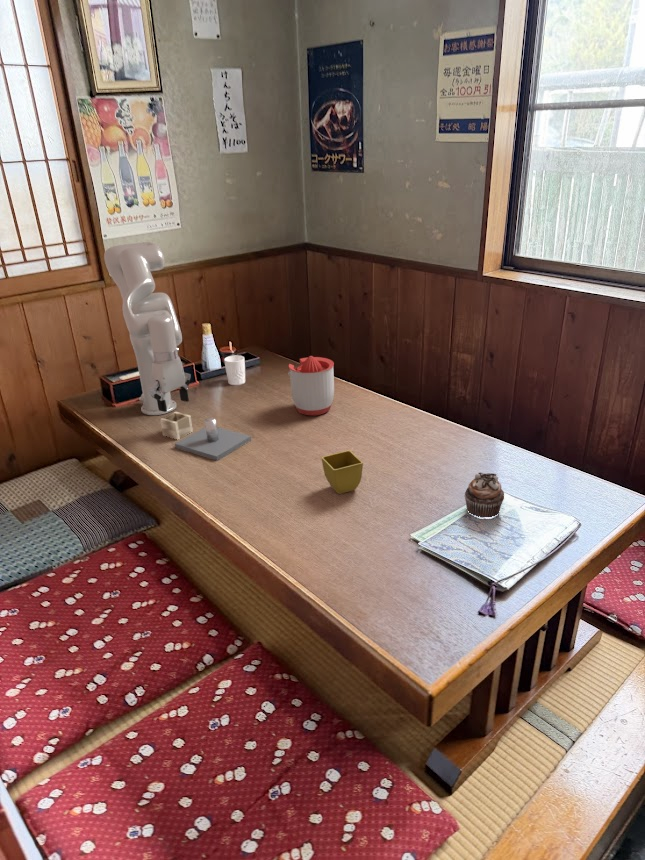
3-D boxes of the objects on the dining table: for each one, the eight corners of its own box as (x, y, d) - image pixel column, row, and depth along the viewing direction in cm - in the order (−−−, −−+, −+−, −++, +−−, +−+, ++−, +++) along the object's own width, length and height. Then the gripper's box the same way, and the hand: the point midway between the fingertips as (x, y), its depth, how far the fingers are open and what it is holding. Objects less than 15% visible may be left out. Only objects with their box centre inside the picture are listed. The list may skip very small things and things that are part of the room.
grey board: (175, 447, 202) (174, 443, 201) (210, 428, 214) (209, 424, 213) (217, 460, 192) (216, 456, 192) (251, 440, 204) (250, 436, 204)
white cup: (245, 385, 249) (242, 361, 245) (225, 386, 249) (222, 362, 245) (248, 378, 256) (245, 354, 252) (228, 379, 256) (225, 355, 252)
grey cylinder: (204, 440, 202) (202, 420, 199) (212, 436, 205) (209, 416, 202) (213, 443, 200) (210, 423, 197) (220, 438, 203) (218, 418, 200)
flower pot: (322, 485, 176) (320, 456, 173) (350, 477, 179) (349, 449, 176) (335, 499, 169) (333, 470, 165) (364, 491, 172) (363, 462, 168)
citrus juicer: (305, 397, 235) (302, 345, 227) (344, 406, 226) (342, 352, 217) (278, 411, 224) (274, 358, 215) (318, 422, 214) (315, 366, 206)
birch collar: (162, 435, 211) (160, 419, 208) (178, 427, 216) (175, 411, 213) (177, 440, 207) (175, 423, 204) (193, 431, 212) (190, 415, 210)
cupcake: (460, 501, 165) (462, 468, 161) (498, 500, 165) (501, 467, 161) (467, 522, 157) (469, 487, 152) (506, 521, 156) (510, 486, 152)
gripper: (177, 346, 208) (185, 395, 215) (136, 361, 195) (146, 413, 202) (193, 349, 204) (201, 399, 211) (153, 364, 191) (162, 417, 198)
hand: (174, 405), depth 206 cm, fingers open, 9 cm apart
